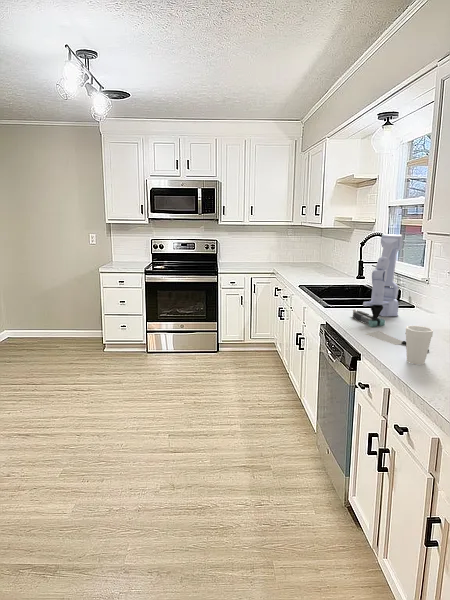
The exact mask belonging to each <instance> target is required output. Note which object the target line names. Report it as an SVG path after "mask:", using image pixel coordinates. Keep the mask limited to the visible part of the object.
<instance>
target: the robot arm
mask: <svg viewBox="0 0 450 600" xmlns="http://www.w3.org/2000/svg"><path fill="white" fill-rule="evenodd" d="M380 244H381V248H382V253H381V257H379V258H378V259H377V263H376V266H375V269H373V270H372V273H371V284H372V285H371V286H372V287H371V299H370V300H369V301H363V303H362V306H363V307H369V308H370V310H371V312H372V316H374V317H377V318H379V317H380V316H381V317H399V313H398V312H399V304H400V303H399V300H397V299H398V295H399V285H398V284H397V282H395V281H394V279H395V270H396V269H395V268H396V261H397V254H398V251H401V250H402V246H403V235H402V234H386V233H383V234H382V235H381V238H380Z"/></svg>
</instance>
